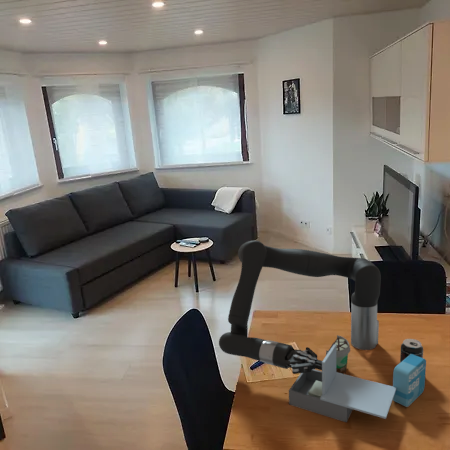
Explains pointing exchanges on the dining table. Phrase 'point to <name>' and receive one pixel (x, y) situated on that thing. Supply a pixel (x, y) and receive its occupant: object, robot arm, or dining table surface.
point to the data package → (409, 379)
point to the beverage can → (411, 349)
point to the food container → (341, 354)
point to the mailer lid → (354, 390)
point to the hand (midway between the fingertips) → (328, 367)
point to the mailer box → (315, 397)
